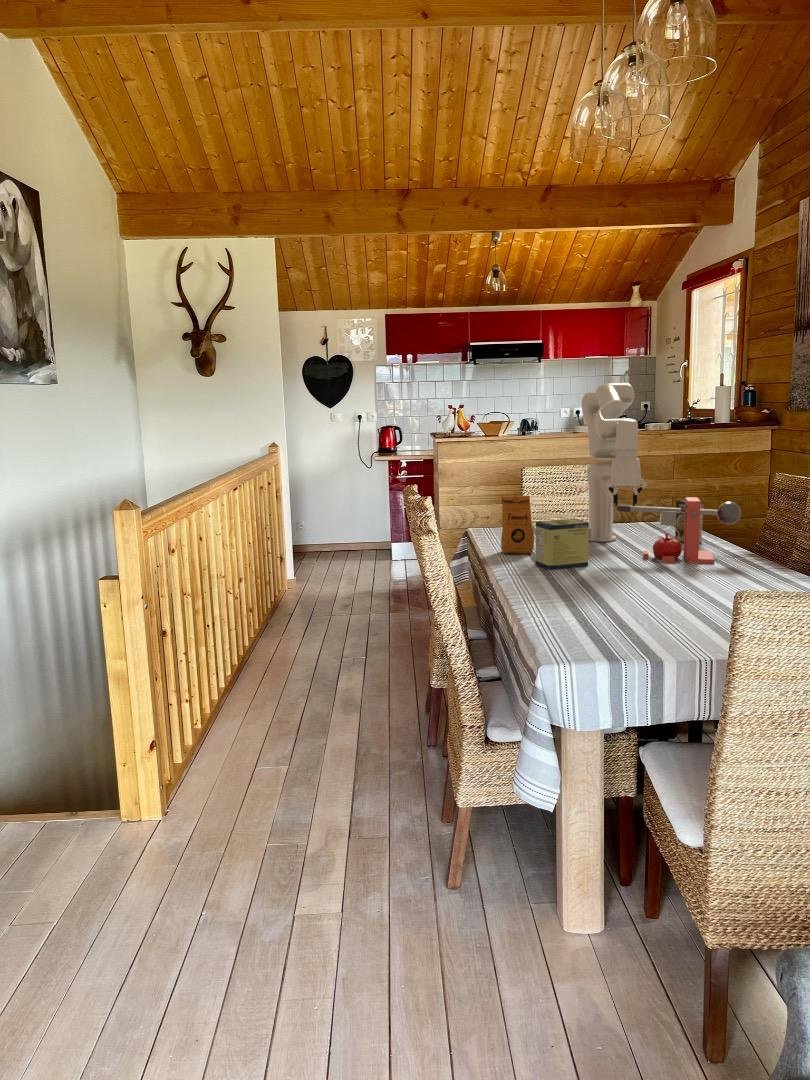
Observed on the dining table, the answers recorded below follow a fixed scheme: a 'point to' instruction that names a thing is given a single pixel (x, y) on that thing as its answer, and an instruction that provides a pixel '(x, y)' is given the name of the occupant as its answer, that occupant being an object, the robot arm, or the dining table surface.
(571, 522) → the protein box
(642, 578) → the dining table surface
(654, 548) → the pomegranate
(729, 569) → the dining table surface
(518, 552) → the coffee package
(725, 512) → the lever
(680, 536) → the coffee box
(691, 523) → the press stand
